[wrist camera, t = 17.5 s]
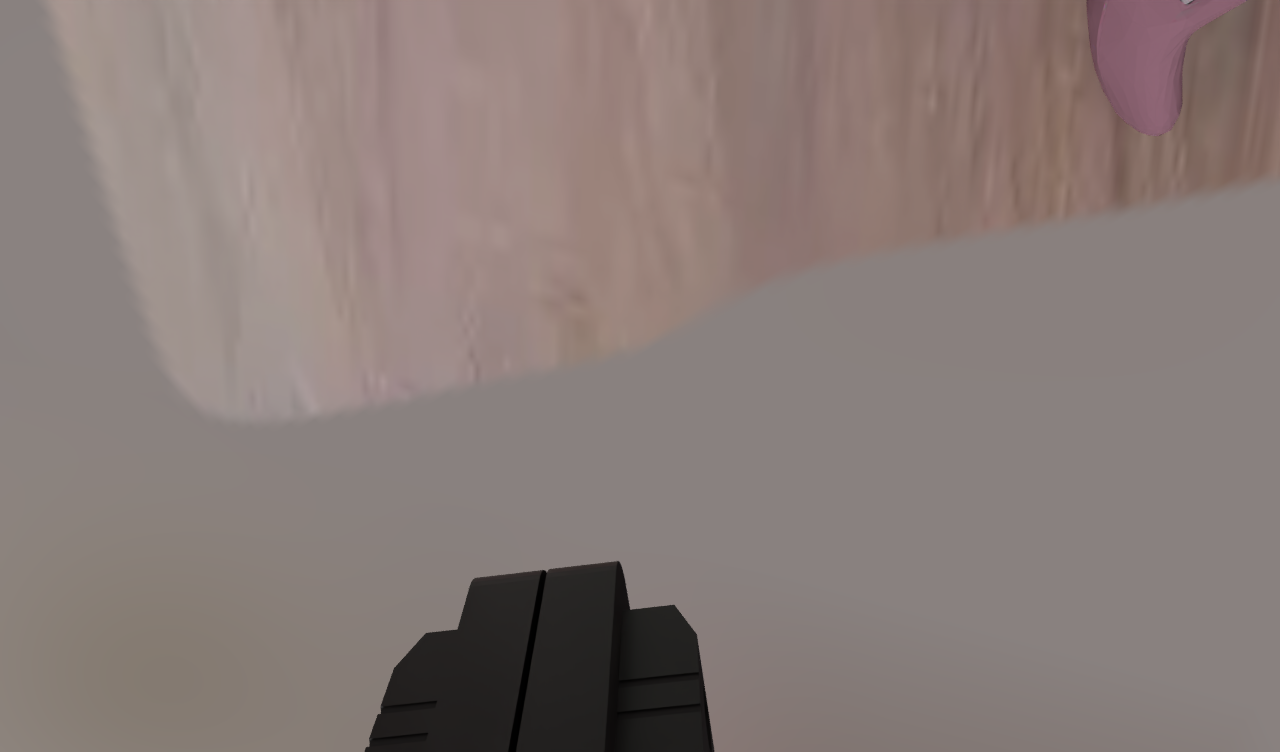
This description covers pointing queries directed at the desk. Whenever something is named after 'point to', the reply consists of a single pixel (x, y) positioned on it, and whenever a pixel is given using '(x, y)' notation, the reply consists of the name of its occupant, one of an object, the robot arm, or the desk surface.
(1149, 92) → the video game controller
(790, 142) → the desk surface
